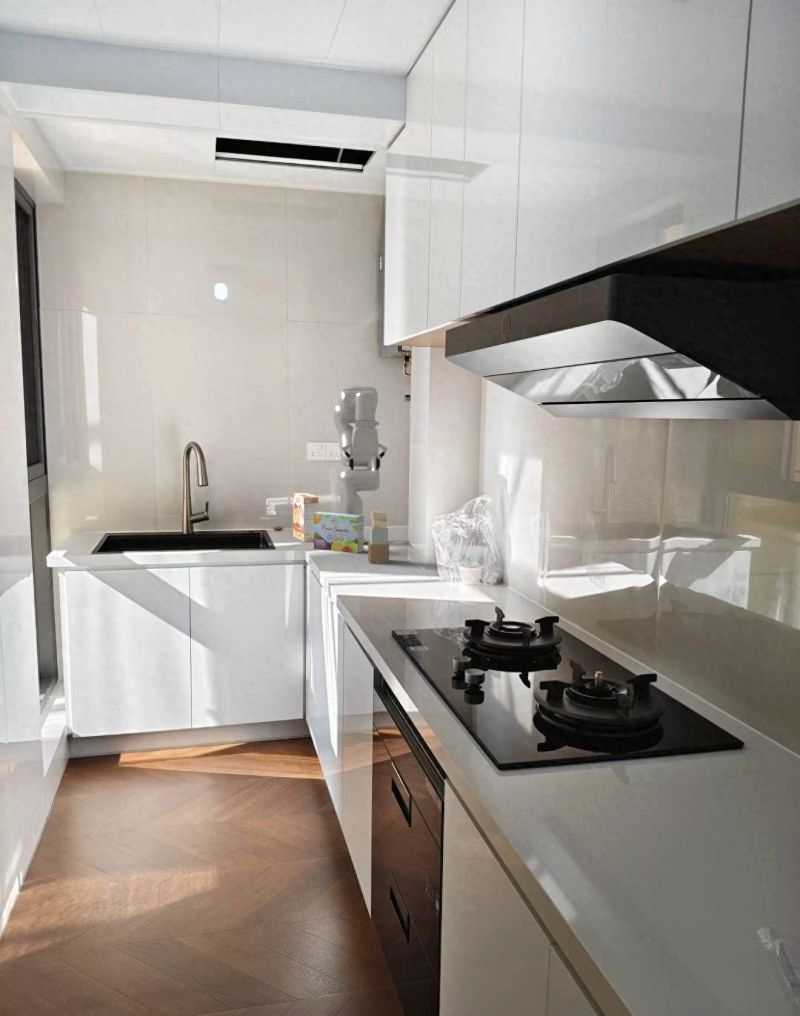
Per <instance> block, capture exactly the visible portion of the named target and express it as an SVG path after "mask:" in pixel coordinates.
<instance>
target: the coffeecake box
mask: <svg viewBox="0 0 800 1016" xmlns="http://www.w3.org/2000/svg"><path fill="white" fill-rule="evenodd" d="M292 499H293V501H292V509H293V511H292V514H293V515H292V518H293V519H292V520H293V521H292V523H293V525H292V527H293V529H292V531H293V533H292V534H293V536H292V537H293V538H295V539H297V540H300V541H301V542H304V543H310V542H314V513H315V512H319V496H317V495H314V494H310V493H307V492H296V493H292Z"/></svg>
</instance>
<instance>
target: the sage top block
mask: <svg viewBox="0 0 800 1016" xmlns="http://www.w3.org/2000/svg"><path fill="white" fill-rule="evenodd" d="M369 542H370V543H371V545H388V544H389V543H388V542H389V528H387V529H373V528H372V527H371V526H369Z"/></svg>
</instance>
